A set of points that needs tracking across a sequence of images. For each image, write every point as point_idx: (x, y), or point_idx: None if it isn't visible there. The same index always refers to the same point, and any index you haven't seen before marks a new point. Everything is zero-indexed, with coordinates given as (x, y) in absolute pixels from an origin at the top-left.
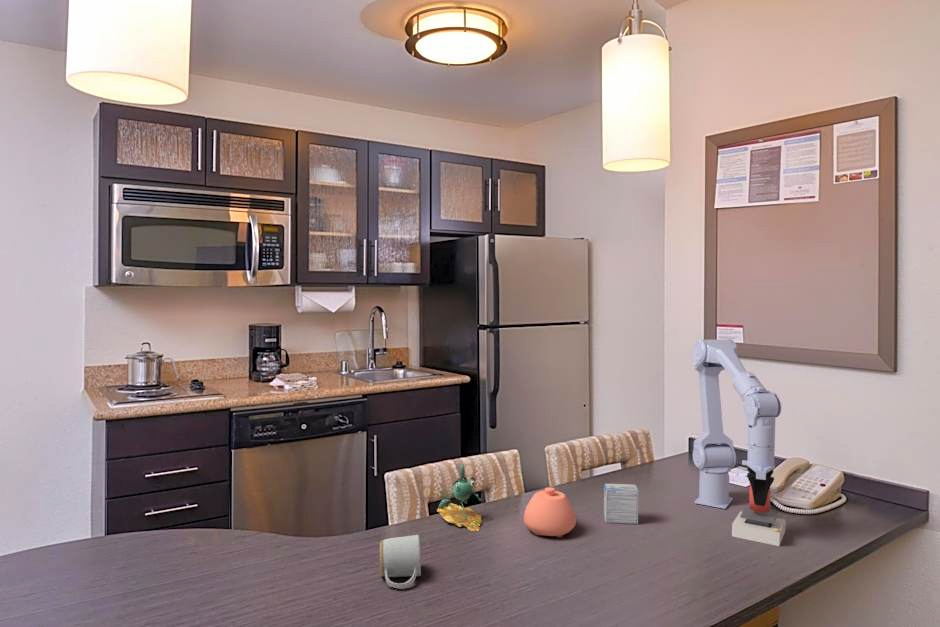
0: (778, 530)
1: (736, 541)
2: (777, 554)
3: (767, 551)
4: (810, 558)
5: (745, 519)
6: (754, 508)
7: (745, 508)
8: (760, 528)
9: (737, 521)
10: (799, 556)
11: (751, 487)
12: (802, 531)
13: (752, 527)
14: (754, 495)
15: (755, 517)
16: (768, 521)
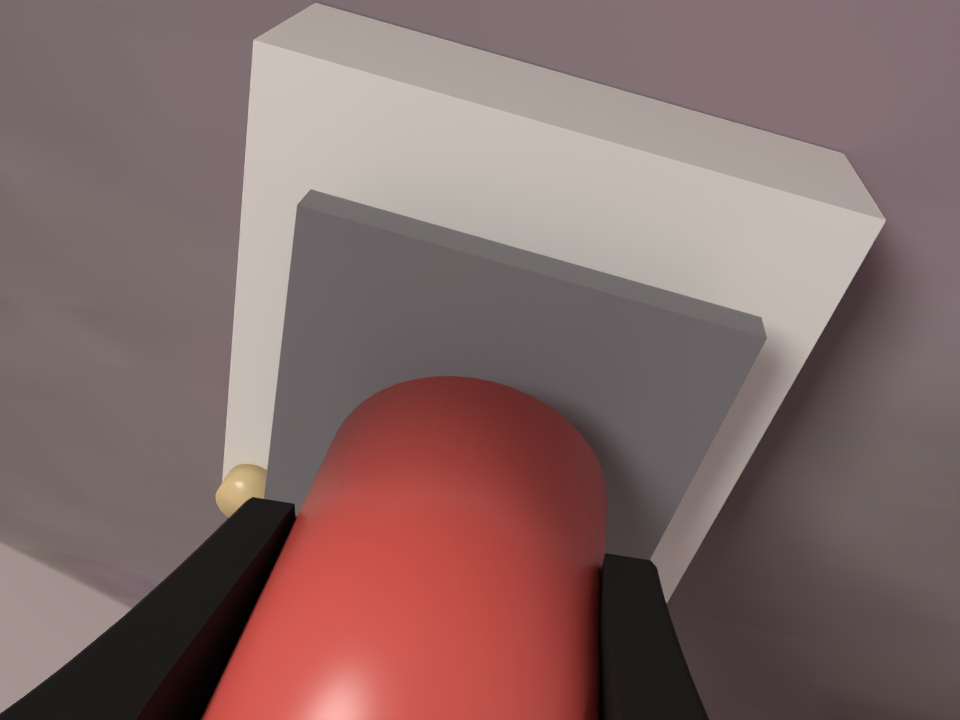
0: (224, 507)
1: (184, 46)
2: (79, 370)
3: (95, 308)
4: (146, 550)
5: (514, 243)
6: (333, 446)
7: (654, 315)
8: (257, 361)
9: (387, 126)
10: (139, 500)
11: (248, 713)
12: (710, 634)
13: (245, 284)
14: (138, 618)
15: (295, 382)
16: (267, 486)
